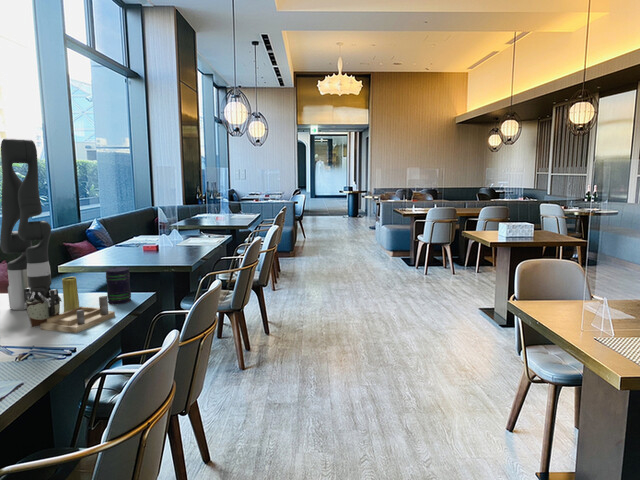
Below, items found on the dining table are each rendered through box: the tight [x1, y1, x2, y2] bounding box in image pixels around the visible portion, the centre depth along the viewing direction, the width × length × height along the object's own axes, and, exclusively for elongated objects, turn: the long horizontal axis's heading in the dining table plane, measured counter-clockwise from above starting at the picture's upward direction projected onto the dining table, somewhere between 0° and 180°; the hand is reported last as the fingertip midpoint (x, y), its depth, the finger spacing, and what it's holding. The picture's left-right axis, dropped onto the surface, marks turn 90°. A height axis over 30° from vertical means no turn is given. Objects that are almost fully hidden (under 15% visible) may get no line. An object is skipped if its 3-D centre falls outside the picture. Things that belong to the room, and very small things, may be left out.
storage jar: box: [105, 266, 132, 305], centre depth 203 cm, size 10×10×15 cm
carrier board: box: [40, 295, 116, 334], centre depth 174 cm, size 16×20×9 cm
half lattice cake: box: [25, 296, 63, 329], centre depth 174 cm, size 12×6×10 cm, turn 135°
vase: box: [61, 276, 80, 313], centre depth 188 cm, size 6×6×14 cm
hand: (43, 315), depth 174 cm, fingers open, 8 cm apart
